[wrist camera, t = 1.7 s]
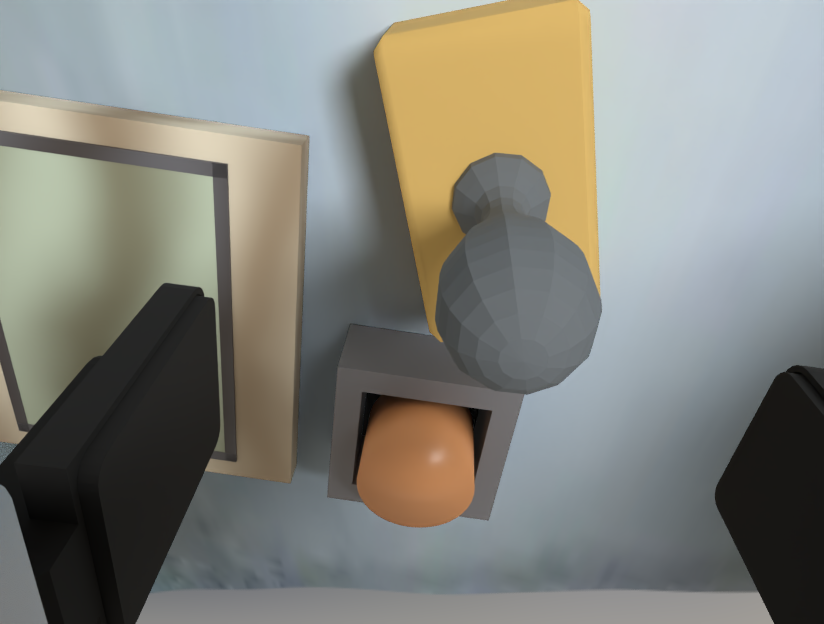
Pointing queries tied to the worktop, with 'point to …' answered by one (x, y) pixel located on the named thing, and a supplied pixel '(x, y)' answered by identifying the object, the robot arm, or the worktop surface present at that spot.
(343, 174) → the worktop surface
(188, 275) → the picture board
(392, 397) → the button
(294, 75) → the worktop surface
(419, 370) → the button housing
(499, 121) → the rubber stamp
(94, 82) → the worktop surface
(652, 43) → the worktop surface
